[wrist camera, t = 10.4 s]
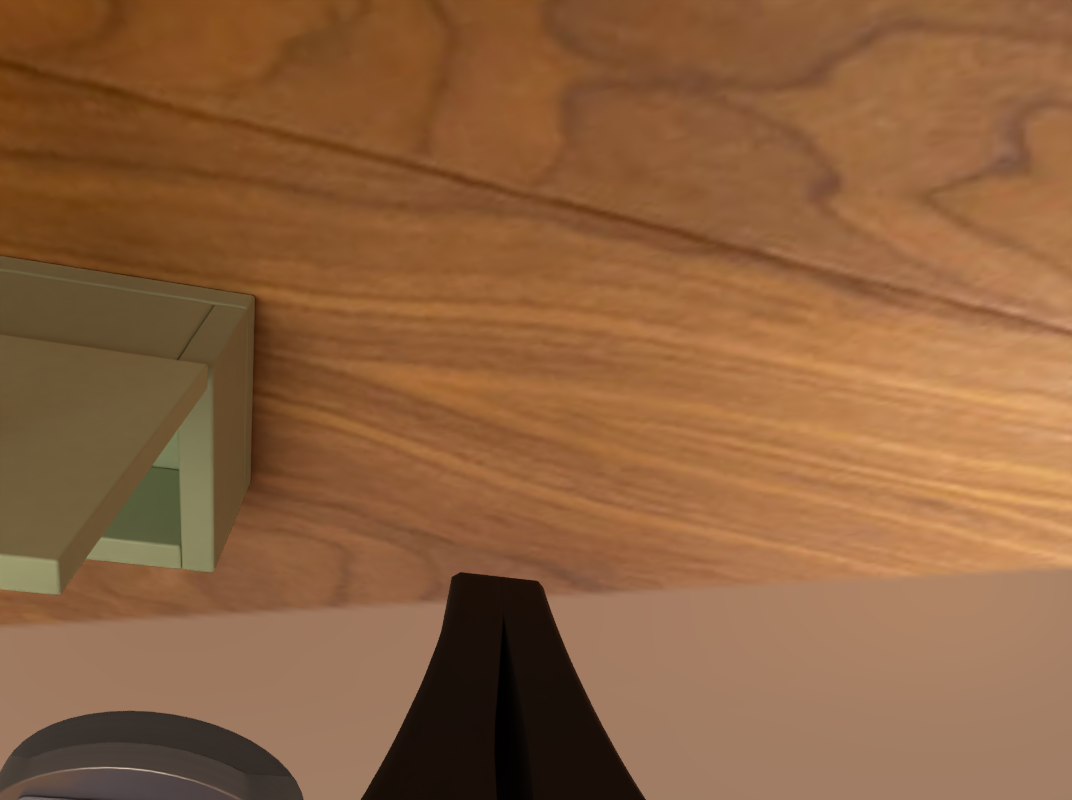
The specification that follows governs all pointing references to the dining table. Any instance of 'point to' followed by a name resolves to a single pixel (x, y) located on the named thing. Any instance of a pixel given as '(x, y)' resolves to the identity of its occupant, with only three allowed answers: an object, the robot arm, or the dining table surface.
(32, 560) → the lid
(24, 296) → the box
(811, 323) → the dining table surface
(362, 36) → the dining table surface
